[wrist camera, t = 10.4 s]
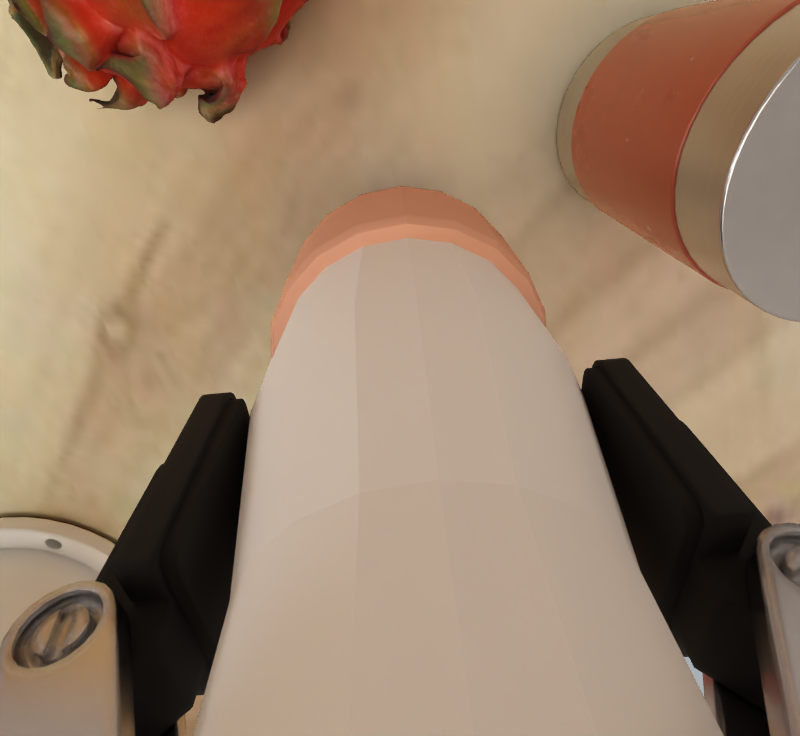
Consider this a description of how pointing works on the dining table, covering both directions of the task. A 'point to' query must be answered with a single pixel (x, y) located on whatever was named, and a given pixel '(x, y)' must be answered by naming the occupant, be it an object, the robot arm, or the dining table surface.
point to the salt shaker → (432, 509)
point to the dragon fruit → (155, 46)
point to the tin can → (698, 141)
